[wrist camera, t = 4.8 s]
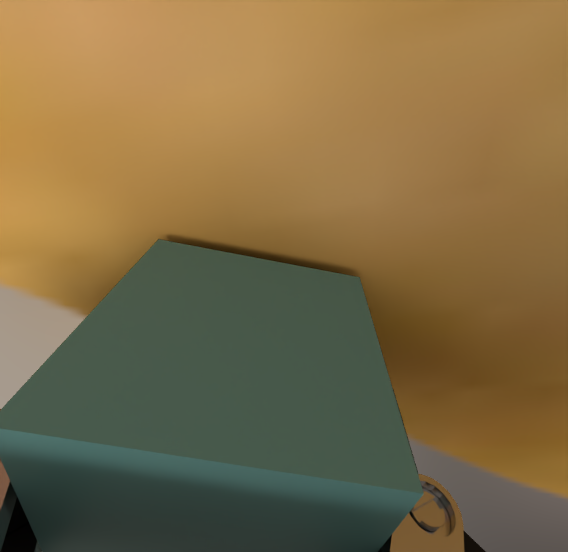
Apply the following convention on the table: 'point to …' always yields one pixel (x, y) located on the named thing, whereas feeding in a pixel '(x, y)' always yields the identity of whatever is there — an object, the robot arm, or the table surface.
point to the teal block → (214, 416)
